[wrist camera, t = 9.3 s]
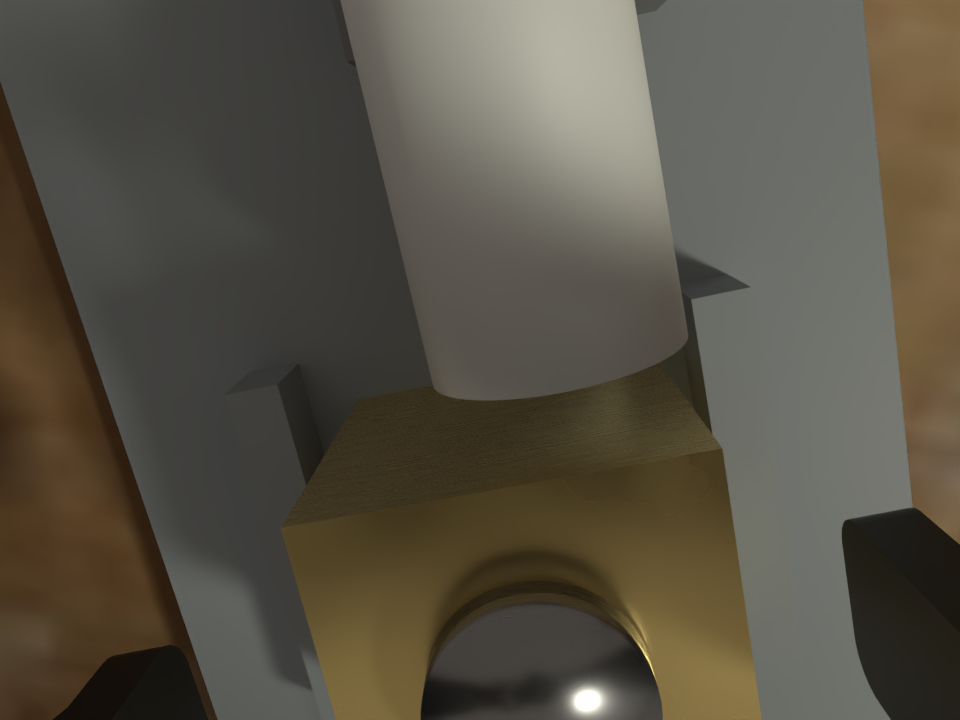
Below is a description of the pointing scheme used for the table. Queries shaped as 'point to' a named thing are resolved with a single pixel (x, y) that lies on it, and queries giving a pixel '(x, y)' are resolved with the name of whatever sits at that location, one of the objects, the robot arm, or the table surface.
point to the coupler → (525, 559)
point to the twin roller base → (471, 269)
